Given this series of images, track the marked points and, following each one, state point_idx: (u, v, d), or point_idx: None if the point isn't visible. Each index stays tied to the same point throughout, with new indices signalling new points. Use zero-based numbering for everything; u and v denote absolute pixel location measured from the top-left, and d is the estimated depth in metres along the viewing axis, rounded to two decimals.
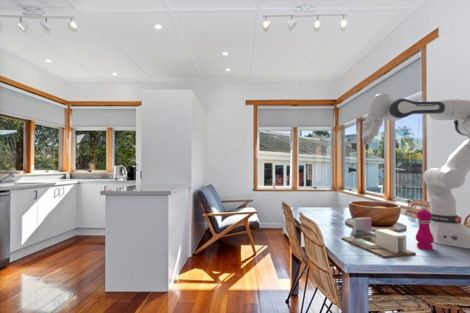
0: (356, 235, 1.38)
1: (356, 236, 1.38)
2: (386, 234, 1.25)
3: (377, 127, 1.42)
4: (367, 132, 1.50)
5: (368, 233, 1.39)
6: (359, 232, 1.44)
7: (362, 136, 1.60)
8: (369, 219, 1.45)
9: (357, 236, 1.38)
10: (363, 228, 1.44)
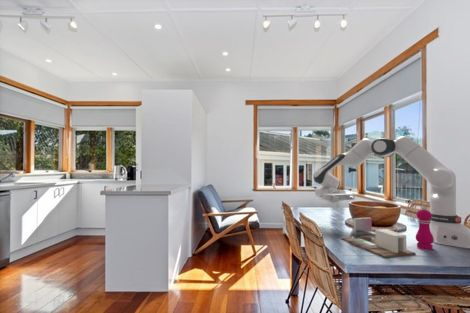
0: (356, 235, 1.38)
1: (356, 236, 1.38)
2: (386, 234, 1.25)
3: (322, 195, 1.66)
4: None
5: (368, 233, 1.39)
6: (359, 232, 1.44)
7: None
8: (369, 219, 1.45)
9: (357, 236, 1.38)
10: (363, 228, 1.44)
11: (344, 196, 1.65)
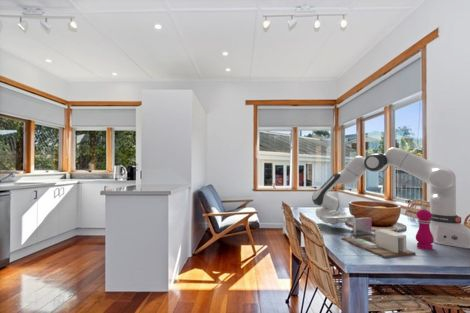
0: (356, 235, 1.38)
1: (356, 236, 1.38)
2: (386, 234, 1.25)
3: (323, 218, 1.66)
4: None
5: (368, 233, 1.39)
6: (359, 232, 1.44)
7: None
8: (369, 219, 1.45)
9: (357, 236, 1.38)
10: (363, 228, 1.44)
11: None
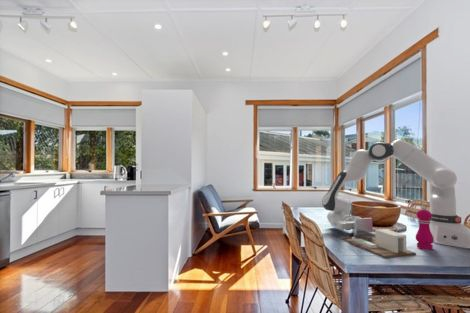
0: (357, 235, 1.37)
1: (357, 236, 1.37)
2: (386, 234, 1.25)
3: (336, 223, 1.52)
4: None
5: (369, 233, 1.39)
6: (360, 232, 1.43)
7: None
8: (370, 219, 1.45)
9: (358, 236, 1.37)
10: (364, 228, 1.44)
11: None
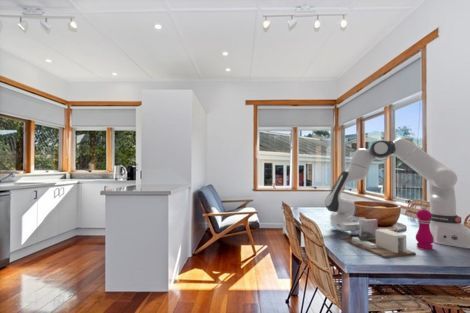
0: (362, 237, 1.34)
1: (362, 238, 1.34)
2: (386, 234, 1.25)
3: (340, 225, 1.48)
4: None
5: (374, 235, 1.35)
6: (365, 234, 1.39)
7: None
8: (375, 221, 1.41)
9: (363, 238, 1.34)
10: (369, 230, 1.40)
11: None
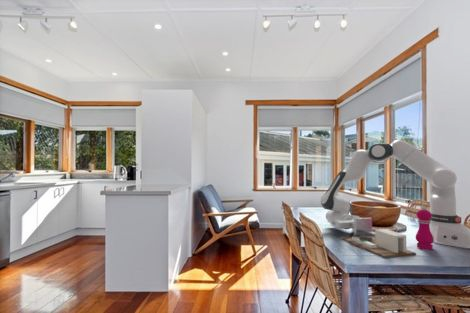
0: (362, 237, 1.34)
1: (362, 238, 1.34)
2: (386, 234, 1.25)
3: (335, 222, 1.53)
4: None
5: (369, 233, 1.39)
6: (360, 232, 1.43)
7: None
8: (370, 219, 1.45)
9: (363, 238, 1.34)
10: (364, 228, 1.44)
11: None
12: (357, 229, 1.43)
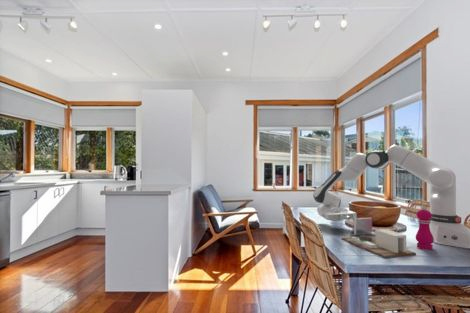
0: (362, 237, 1.34)
1: (362, 238, 1.34)
2: (386, 234, 1.25)
3: (324, 215, 1.66)
4: None
5: (369, 233, 1.39)
6: (360, 232, 1.43)
7: (353, 218, 1.66)
8: (370, 219, 1.45)
9: (363, 238, 1.34)
10: (364, 228, 1.44)
11: (346, 215, 1.65)
12: (357, 229, 1.43)
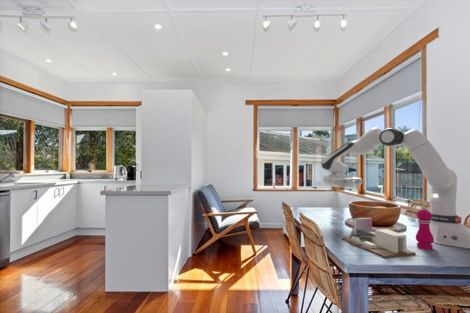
0: (362, 237, 1.34)
1: (362, 238, 1.34)
2: (386, 234, 1.25)
3: (331, 180, 1.70)
4: None
5: (369, 233, 1.39)
6: (360, 232, 1.43)
7: None
8: (370, 219, 1.45)
9: (363, 238, 1.34)
10: (364, 228, 1.44)
11: (352, 180, 1.69)
12: (357, 229, 1.43)
